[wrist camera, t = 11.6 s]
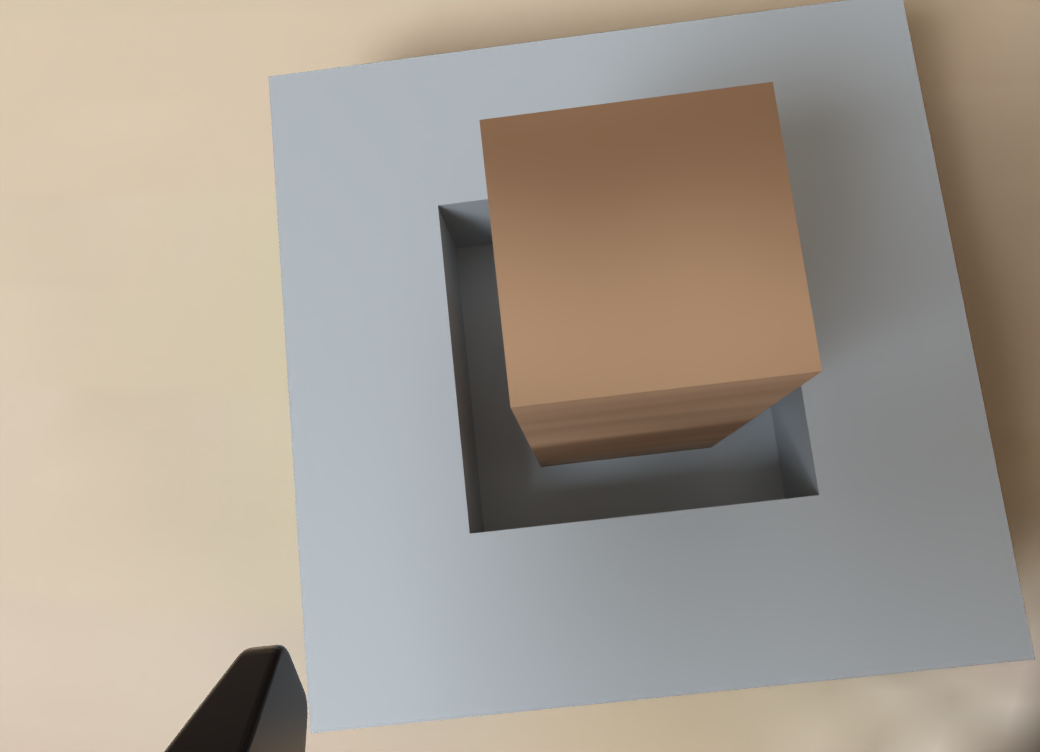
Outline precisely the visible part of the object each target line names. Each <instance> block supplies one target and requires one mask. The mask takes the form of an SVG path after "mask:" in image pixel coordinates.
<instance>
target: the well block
mask: <svg viewBox="0 0 1040 752" xmlns="http://www.w3.org/2000/svg"><path fill="white" fill-rule="evenodd" d="M767 82H773V86H774V92H775V98H776V103H777V109H778V115H779V121H780V127H781V133H782V139H783V144H784V150H785V156H786V162H787V168H788V174H789V180H790V185H791V191H792V197H793V203H794V209H795V215H796V221H797V226H798V232H799V238H800V244H801V250H802V256H803V262H804V267H805V273H806V279H807V285H808V291H809V297H810V303H811V308H812V314H813V320H814V326H815V332H816V338H817V343H818V349H819V355H820V361H821V367H822V372H820V373H819V374H817V375H816V376H814V377H813V378H812V379H810V380H809V381H807V382H806V383H804V384H803V385H801V386H800V387H798V388H797V389H796V390H794V391H793V392H791V393H790V394H788V395H787V396H785V397H784V398H782V399H781V400H780V401H778V402H777V403H775V404H774V405H772V406H771V407H769V408H768V409H766V410H765V411H763V412H762V413H761V414H759V415H758V416H756V417H755V418H753V419H752V420H750V421H749V422H747V423H746V424H745V425H743V426H742V427H740V428H739V429H737V430H736V431H734V432H733V433H731V434H730V435H729V436H727V437H726V438H724V439H723V440H721V441H720V442H718V443H717V444H715V445H714V446H713V447H711V448H703V449H694V450H686V451H677V452H668V453H659V454H650V455H642V456H633V457H624V458H615V459H607V460H598V461H589V462H580V463H572V464H563V465H554V466H545V467H541V466H540V464H539V462H538V460H537V458H536V457H535V455H534V453H533V451H532V449H531V447H530V445H529V443H528V441H527V439H526V437H525V435H524V433H523V431H522V429H521V427H520V425H519V423H518V421H517V419H516V417H515V415H514V413H513V412H512V410H511V408H510V398H509V389H508V380H507V371H506V361H505V352H504V343H503V334H502V324H501V315H500V306H499V297H498V287H497V278H496V269H495V260H494V251H493V241H492V232H491V223H490V214H489V204H488V195H487V186H486V177H485V167H484V158H483V149H482V140H481V130H480V121H479V120H483V119H490V118H498V117H506V116H513V115H521V114H529V113H536V112H544V111H552V110H560V109H567V108H575V107H583V106H590V105H598V104H606V103H613V102H621V101H629V100H636V99H644V98H652V97H659V96H667V95H675V94H682V93H690V92H698V91H706V90H713V89H721V88H729V87H736V86H744V85H752V84H759V83H767ZM269 90H270V105H271V121H272V137H273V152H274V168H275V184H276V200H277V215H278V231H279V247H280V263H281V278H282V294H283V310H284V325H285V341H286V357H287V373H288V388H289V404H290V420H291V435H292V451H293V467H294V483H295V498H296V514H297V530H298V545H299V561H300V577H301V593H302V608H303V624H304V640H305V655H306V671H307V687H308V703H309V718H310V733H317V732H327V731H336V730H346V729H356V728H366V727H376V726H385V725H395V724H405V723H415V722H424V721H434V720H444V719H454V718H464V717H473V716H483V715H493V714H503V713H513V712H522V711H532V710H542V709H552V708H561V707H571V706H581V705H591V704H601V703H610V702H620V701H630V700H640V699H650V698H659V697H669V696H679V695H689V694H699V693H708V692H718V691H728V690H738V689H747V688H757V687H767V686H777V685H787V684H796V683H806V682H816V681H826V680H836V679H845V678H855V677H865V676H875V675H884V674H894V673H904V672H914V671H924V670H933V669H943V668H953V667H963V666H973V665H982V664H992V663H1002V662H1012V661H1022V660H1031V659H1035V656H1034V651H1033V646H1032V641H1031V636H1030V631H1029V626H1028V621H1027V616H1026V612H1025V607H1024V602H1023V597H1022V592H1021V587H1020V582H1019V577H1018V572H1017V567H1016V562H1015V557H1014V552H1013V547H1012V542H1011V537H1010V532H1009V527H1008V522H1007V517H1006V512H1005V507H1004V502H1003V497H1002V492H1001V487H1000V482H999V477H998V472H997V467H996V462H995V457H994V452H993V447H992V442H991V437H990V432H989V427H988V422H987V417H986V412H985V407H984V402H983V397H982V392H981V387H980V382H979V377H978V372H977V367H976V362H975V357H974V352H973V347H972V342H971V337H970V332H969V327H968V322H967V317H966V312H965V307H964V302H963V297H962V292H961V287H960V282H959V277H958V272H957V267H956V262H955V257H954V252H953V248H952V243H951V238H950V233H949V228H948V223H947V218H946V213H945V208H944V203H943V198H942V193H941V188H940V183H939V178H938V173H937V168H936V163H935V158H934V153H933V148H932V143H931V138H930V133H929V128H928V123H927V118H926V113H925V108H924V103H923V98H922V93H921V88H920V83H919V78H918V73H917V68H916V63H915V58H914V53H913V48H912V43H911V38H910V33H909V28H908V23H907V18H906V13H905V8H904V3H903V0H844V1H837V2H829V3H822V4H814V5H807V6H799V7H792V8H784V9H776V10H769V11H761V12H754V13H746V14H739V15H731V16H724V17H716V18H708V19H701V20H693V21H686V22H678V23H671V24H663V25H656V26H648V27H640V28H633V29H625V30H618V31H610V32H603V33H595V34H588V35H580V36H572V37H565V38H557V39H550V40H542V41H535V42H527V43H520V44H512V45H504V46H497V47H489V48H482V49H474V50H467V51H459V52H452V53H444V54H436V55H429V56H421V57H414V58H406V59H399V60H391V61H384V62H376V63H368V64H361V65H353V66H346V67H338V68H331V69H323V70H316V71H308V72H300V73H293V74H285V75H278V76H270V77H269Z"/></svg>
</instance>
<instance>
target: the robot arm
mask: <svg viewBox="0 0 1040 752" xmlns="http://www.w3.org/2000/svg"><path fill="white" fill-rule="evenodd" d="M306 729H307V700H306V695H305V692H304V689H303V687H302V684H301V682H300V679H299V677H298V674H297V672H296V669H295V667H294V664H293V662H292V659H291V657H290V655H289V653H288V651H287V649H286V648H285V647H283V646H282V645H271V646H262V647H253V648H249V649H246V650H245V651H243V652H242V653H241V654H240V655H239V656H238V657H237V658H236V660H235V661H234V662H233V664H232V665H231V666H230V667H229V669H228V670H227V671H226V673H225V674H224V675H223V676H222V678H221V679H220V680H219V682H218V683H217V684H216V686H215V687H214V688H213V689H212V691H211V692H210V693H209V695H208V696H207V697H206V698H205V700H204V701H203V702H202V704H201V705H200V706H199V708H198V709H197V710H196V711H195V713H194V714H193V715H192V717H191V718H190V719H189V720H188V722H187V723H186V724H185V726H184V727H183V728H182V729H181V731H180V732H179V733H178V735H177V736H176V737H175V739H174V740H173V741H172V742H171V744H170V745H169V746H168V748H167V749H166V750H165V751H164V752H305V745H306Z"/></svg>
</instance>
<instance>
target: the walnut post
mask: <svg viewBox="0 0 1040 752" xmlns="http://www.w3.org/2000/svg"><path fill="white" fill-rule="evenodd" d="M479 121H480V130H481V140H482V149H483V158H484V167H485V177H486V186H487V195H488V204H489V214H490V223H491V232H492V241H493V251H494V260H495V269H496V278H497V287H498V297H499V306H500V315H501V324H502V334H503V343H504V352H505V361H506V371H507V380H508V389H509V398H510V408H511V410H512V412H513V413H514V415H515V417H516V419H517V421H518V423H519V425H520V427H521V429H522V431H523V433H524V435H525V437H526V439H527V441H528V443H529V445H530V447H531V449H532V451H533V453H534V455H535V457H536V458H537V460H538V462H539V464H540V466H541V467H545V466H554V465H563V464H572V463H580V462H589V461H598V460H607V459H615V458H624V457H633V456H642V455H650V454H659V453H668V452H677V451H686V450H694V449H703V448H711V447H713V446H714V445H715V444H717V443H718V442H720V441H721V440H723V439H724V438H726V437H727V436H729V435H730V434H731V433H733V432H734V431H736V430H737V429H739V428H740V427H742V426H743V425H745V424H746V423H747V422H749V421H750V420H752V419H753V418H755V417H756V416H758V415H759V414H761V413H762V412H763V411H765V410H766V409H768V408H769V407H771V406H772V405H774V404H775V403H777V402H778V401H780V400H781V399H782V398H784V397H785V396H787V395H788V394H790V393H791V392H793V391H794V390H796V389H797V388H798V387H800V386H801V385H803V384H804V383H806V382H807V381H809V380H810V379H812V378H813V377H814V376H816V375H817V374H819V373H820V372H822V367H821V361H820V355H819V349H818V343H817V338H816V332H815V326H814V320H813V314H812V308H811V303H810V297H809V291H808V285H807V279H806V273H805V267H804V262H803V256H802V250H801V244H800V238H799V232H798V226H797V221H796V215H795V209H794V203H793V197H792V191H791V185H790V180H789V174H788V168H787V162H786V156H785V150H784V144H783V139H782V133H781V127H780V121H779V115H778V109H777V103H776V98H775V92H774V86H773V82H767V83H759V84H752V85H744V86H736V87H729V88H721V89H713V90H706V91H698V92H690V93H682V94H675V95H667V96H659V97H652V98H644V99H636V100H629V101H621V102H613V103H606V104H598V105H590V106H583V107H575V108H567V109H560V110H552V111H544V112H536V113H529V114H521V115H513V116H506V117H498V118H490V119H483V120H479Z"/></svg>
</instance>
